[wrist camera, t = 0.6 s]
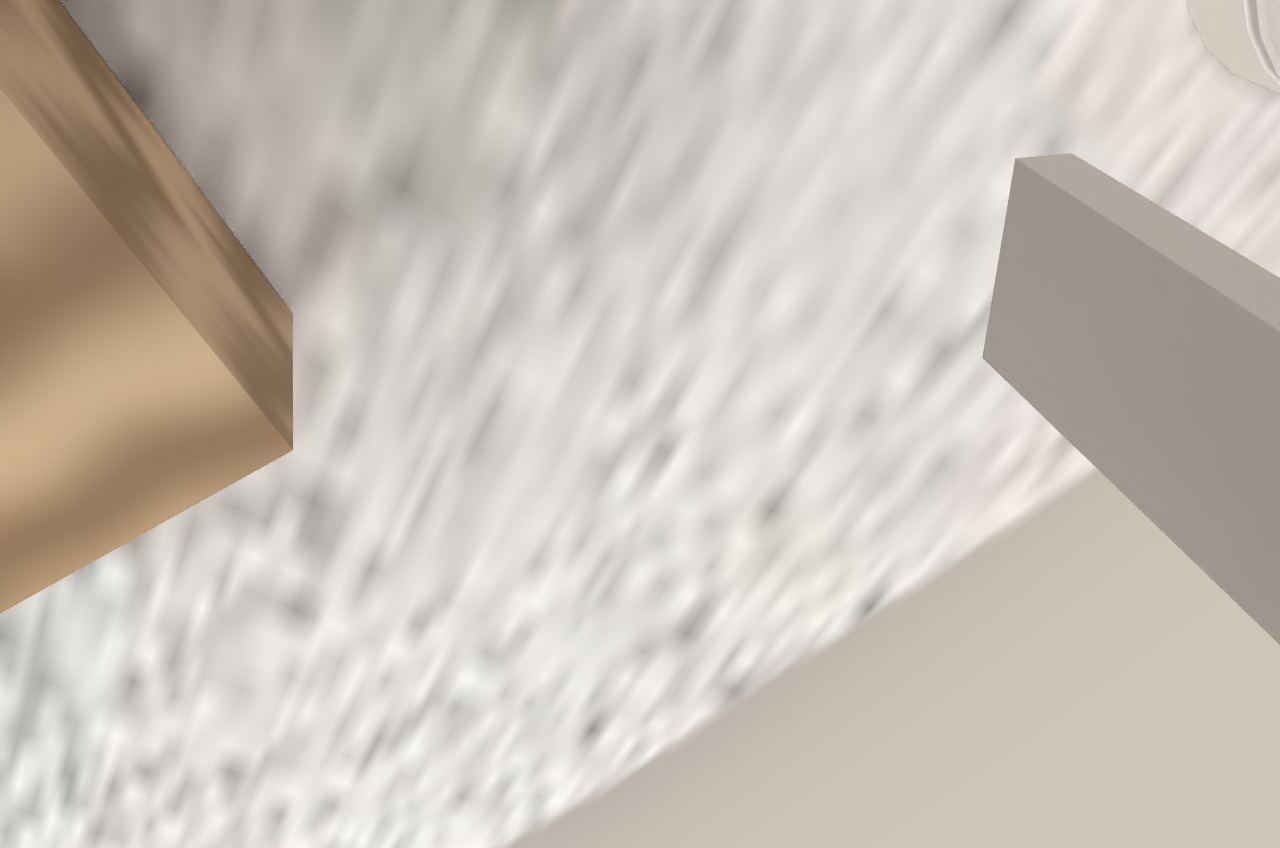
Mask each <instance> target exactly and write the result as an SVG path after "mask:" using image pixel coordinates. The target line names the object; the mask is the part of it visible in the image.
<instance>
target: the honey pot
mask: <svg viewBox="0 0 1280 848" xmlns="http://www.w3.org/2000/svg"><path fill="white" fill-rule="evenodd" d="M1187 5H1188V12H1189V14H1190V16H1191V18H1192V20H1193V22H1194V24H1195V27H1196V29H1197V31H1198V33H1199V35H1200V37H1201V39H1202V41H1203V43H1204V46H1205V48H1206V49H1207V50H1208V51H1209V52H1210V53H1211V54H1212V55H1213V56H1214V57H1215V58H1216V59H1217V60H1218V61H1219V62H1220V63H1221V64H1222V65H1223V66H1224V67H1225V68H1226V69H1228V70H1229V71H1230V72H1231V73H1232V74H1234V75H1237V76H1239V77H1241V78H1244V79H1246V80H1248V81H1251V82H1253V83H1255V84H1258V85H1260V86H1262V87H1265V88H1267V89H1270V90H1273V91H1275V92H1278V93H1280V0H1187Z"/></svg>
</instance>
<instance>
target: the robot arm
mask: <svg viewBox="0 0 1280 848" xmlns="http://www.w3.org/2000/svg"><path fill="white" fill-rule="evenodd" d="M983 359H984V360H985V361H986V362H987V363H989V364H990V365H991V366H992V367H993V368H994V369H995V370H996V371H997V372H998V373H999V374H1000V375H1001V376H1002V377H1003V378H1004V379H1005V380H1006V381H1007V382H1008V383H1009V384H1010V385H1011V386H1012V387H1013V388H1014V389H1015V390H1016V391H1018V392H1019V393H1020V394H1021V395H1022V396H1023V397H1024V398H1025V399H1026V400H1027V401H1028V402H1029V403H1030V404H1031V405H1032V406H1033V407H1034V408H1035V409H1036V410H1037V411H1038V412H1039V413H1040V414H1041V415H1042V416H1043V417H1044V418H1045V419H1047V420H1048V421H1049V422H1050V423H1051V424H1052V425H1053V426H1054V427H1055V428H1056V429H1057V430H1058V431H1059V432H1060V433H1061V434H1062V435H1063V436H1064V437H1065V438H1066V439H1067V440H1068V441H1069V442H1070V443H1071V444H1072V445H1073V446H1074V447H1076V448H1077V449H1078V450H1079V451H1080V452H1081V453H1082V454H1083V455H1084V456H1085V457H1086V458H1087V459H1088V460H1089V461H1090V462H1091V463H1092V464H1093V465H1094V466H1095V467H1096V468H1097V469H1098V470H1099V471H1100V472H1101V473H1102V474H1104V475H1105V476H1106V477H1107V478H1108V479H1109V480H1110V481H1111V482H1112V483H1113V484H1114V485H1115V486H1116V487H1117V488H1118V489H1119V490H1120V491H1121V492H1122V493H1123V494H1124V495H1125V496H1126V497H1127V498H1128V499H1130V501H1132V503H1134V504H1135V505H1136V506H1137V507H1138V508H1139V509H1140V510H1141V511H1142V512H1143V513H1144V514H1145V515H1146V516H1147V517H1148V518H1149V519H1150V520H1151V521H1152V522H1153V523H1154V524H1155V525H1156V526H1157V527H1158V528H1159V529H1160V530H1161V531H1163V532H1164V533H1165V534H1166V535H1167V536H1168V537H1169V538H1170V539H1171V540H1172V541H1173V542H1174V543H1175V544H1176V545H1177V546H1178V547H1179V548H1180V549H1181V550H1182V551H1183V552H1184V553H1185V554H1186V555H1187V556H1188V557H1190V559H1192V560H1193V561H1194V562H1195V563H1196V564H1197V565H1198V566H1199V567H1200V568H1201V569H1202V570H1203V571H1204V572H1205V573H1206V574H1207V575H1208V576H1209V577H1210V578H1211V579H1212V580H1213V581H1214V582H1215V583H1216V584H1217V585H1218V586H1220V587H1221V588H1222V589H1223V590H1224V591H1225V592H1226V593H1227V594H1228V595H1229V596H1230V597H1231V598H1232V599H1233V600H1234V601H1235V602H1236V603H1237V604H1238V605H1239V606H1240V607H1241V608H1242V609H1243V610H1244V611H1245V612H1246V613H1247V614H1248V615H1250V616H1251V617H1252V618H1253V619H1254V620H1255V621H1256V622H1257V623H1258V624H1259V625H1260V626H1261V627H1262V628H1263V629H1264V630H1265V631H1266V632H1267V633H1268V634H1269V635H1270V636H1271V637H1272V638H1273V639H1274V640H1276V642H1277V643H1279V644H1280V278H1279V277H1277V276H1275V275H1274V274H1272V273H1270V272H1269V271H1267V270H1265V269H1264V268H1262V267H1260V266H1259V265H1257V264H1255V263H1254V262H1252V261H1250V260H1249V259H1247V258H1245V257H1244V256H1242V255H1240V254H1239V253H1237V252H1235V251H1234V250H1232V249H1230V248H1229V247H1227V246H1225V245H1224V244H1222V243H1220V242H1219V241H1217V240H1215V239H1214V238H1212V237H1210V236H1209V235H1207V234H1205V233H1204V232H1202V231H1200V230H1199V229H1197V228H1195V227H1194V226H1192V225H1190V224H1189V223H1187V222H1185V221H1184V220H1182V219H1180V218H1179V217H1177V216H1175V215H1174V214H1172V213H1170V212H1169V211H1167V210H1165V209H1164V208H1162V207H1160V206H1159V205H1157V204H1155V203H1154V202H1152V201H1150V200H1149V199H1147V198H1145V197H1143V196H1142V195H1140V194H1138V193H1137V192H1135V191H1133V190H1132V189H1130V188H1128V187H1127V186H1125V185H1123V184H1122V183H1120V182H1118V181H1117V180H1115V179H1113V178H1112V177H1110V176H1108V175H1107V174H1105V173H1103V172H1102V171H1100V170H1098V169H1097V168H1095V167H1093V166H1092V165H1090V164H1088V163H1087V162H1085V161H1083V160H1082V159H1080V158H1078V157H1077V156H1075V155H1073V154H1072V153H1071V154H1060V155H1049V156H1038V157H1027V158H1017V159H1015V164H1014V170H1013V176H1012V182H1011V188H1010V194H1009V200H1008V206H1007V212H1006V219H1005V225H1004V231H1003V237H1002V243H1001V249H1000V255H999V261H998V267H997V273H996V279H995V285H994V291H993V297H992V303H991V309H990V315H989V321H988V327H987V333H986V339H985V345H984V352H983Z"/></svg>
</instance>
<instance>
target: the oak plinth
mask: <svg viewBox="0 0 1280 848" xmlns="http://www.w3.org/2000/svg"><path fill="white" fill-rule="evenodd" d="M292 450H293V329H292V312H291V311H290V310H289V308H288V307H287V306H286V304H285V303H284V302H283V300H282V299H281V298H280V296H279V295H278V293H277V292H276V291H275V289H274V288H273V287H272V285H271V284H270V283H269V281H268V280H267V279H266V277H265V276H264V275H263V273H262V272H261V271H260V269H259V268H258V267H257V265H256V264H255V263H254V261H253V260H252V259H251V257H250V256H249V255H248V253H247V252H246V251H245V249H244V248H243V247H242V245H241V244H240V243H239V241H238V240H237V238H236V237H235V236H234V234H233V233H232V232H231V230H230V229H229V228H228V226H227V225H226V224H225V222H224V221H223V220H222V218H221V217H220V216H219V214H218V213H217V212H216V210H215V209H214V208H213V206H212V205H211V204H210V202H209V201H208V200H207V198H206V197H205V196H204V194H203V193H202V192H201V190H200V189H199V188H198V186H197V185H196V183H195V182H194V181H193V179H192V178H191V177H190V175H189V174H188V173H187V171H186V170H185V169H184V167H183V166H182V165H181V163H180V162H179V161H178V159H177V158H176V157H175V155H174V154H173V153H172V151H171V150H170V149H169V147H168V146H167V145H166V143H165V142H164V141H163V139H162V138H161V137H160V135H159V134H158V133H157V131H156V130H155V128H154V127H153V126H152V124H151V123H150V122H149V120H148V119H147V118H146V116H145V115H144V114H143V112H142V111H141V110H140V108H139V107H138V106H137V104H136V103H135V102H134V100H133V99H132V98H131V96H130V95H129V94H128V92H127V91H126V90H125V88H124V87H123V86H122V84H121V83H120V82H119V80H118V79H117V78H116V76H115V75H114V73H113V72H112V71H111V69H110V68H109V67H108V65H107V64H106V63H105V61H104V60H103V59H102V57H101V56H100V55H99V53H98V52H97V51H96V49H95V48H94V47H93V45H92V44H91V43H90V41H89V40H88V39H87V37H86V36H85V35H84V33H83V32H82V31H81V29H80V28H79V27H78V25H77V24H76V23H75V21H74V20H73V18H72V17H71V16H70V14H69V13H68V12H67V10H66V9H65V8H64V6H63V5H62V4H61V2H60V1H59V0H0V613H2V612H3V611H5V610H7V609H9V608H10V607H12V606H14V605H16V604H18V603H19V602H21V601H23V600H25V599H27V598H28V597H30V596H32V595H34V594H36V593H37V592H39V591H41V590H43V589H45V588H46V587H48V586H50V585H52V584H53V583H55V582H57V581H59V580H61V579H62V578H64V577H66V576H68V575H70V574H71V573H73V572H75V571H77V570H79V569H80V568H82V567H84V566H86V565H88V564H89V563H91V562H93V561H95V560H96V559H98V558H100V557H102V556H104V555H105V554H107V553H109V552H111V551H113V550H114V549H116V548H118V547H120V546H122V545H123V544H125V543H127V542H129V541H131V540H132V539H134V538H136V537H138V536H140V535H141V534H143V533H145V532H147V531H148V530H150V529H152V528H154V527H156V526H157V525H159V524H161V523H163V522H165V521H166V520H168V519H170V518H172V517H174V516H175V515H177V514H179V513H181V512H183V511H184V510H186V509H188V508H190V507H191V506H193V505H195V504H197V503H199V502H200V501H202V500H204V499H206V498H208V497H209V496H211V495H213V494H215V493H217V492H218V491H220V490H222V489H224V488H226V487H227V486H229V485H231V484H233V483H234V482H236V481H238V480H240V479H242V478H243V477H245V476H247V475H249V474H251V473H252V472H254V471H256V470H258V469H260V468H261V467H263V466H265V465H267V464H269V463H270V462H272V461H274V460H276V459H277V458H279V457H281V456H283V455H285V454H286V453H288V452H290V451H292Z"/></svg>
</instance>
